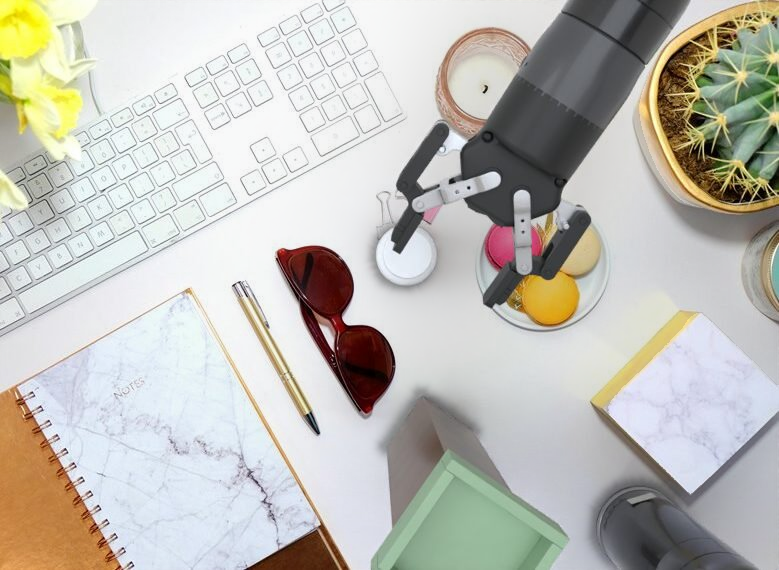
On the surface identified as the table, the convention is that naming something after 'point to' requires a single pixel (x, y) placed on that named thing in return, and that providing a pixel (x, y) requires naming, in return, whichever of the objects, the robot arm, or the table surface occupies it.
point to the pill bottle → (407, 258)
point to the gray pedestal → (429, 452)
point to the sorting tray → (469, 526)
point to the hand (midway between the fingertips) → (442, 276)
